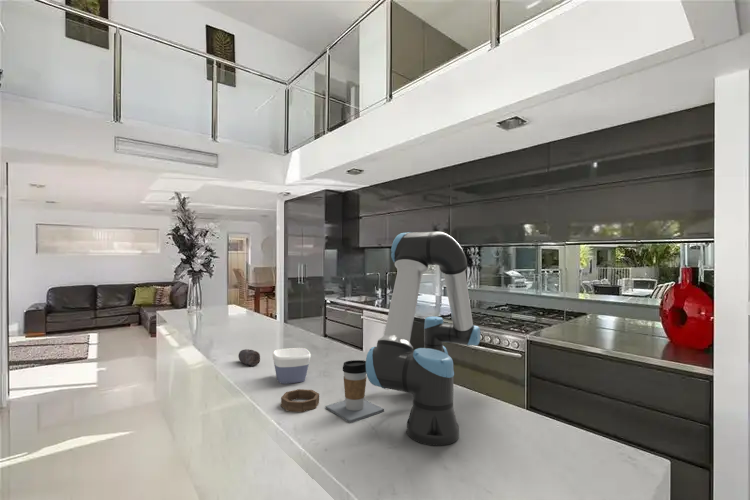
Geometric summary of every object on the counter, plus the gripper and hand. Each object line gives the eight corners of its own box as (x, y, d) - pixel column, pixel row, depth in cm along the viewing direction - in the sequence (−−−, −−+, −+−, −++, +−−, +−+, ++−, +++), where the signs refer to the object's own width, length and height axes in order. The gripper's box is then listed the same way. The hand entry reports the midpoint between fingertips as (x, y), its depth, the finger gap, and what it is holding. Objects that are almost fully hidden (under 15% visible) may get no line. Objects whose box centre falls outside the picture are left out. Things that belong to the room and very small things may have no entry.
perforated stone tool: (234, 362, 175) (235, 347, 175) (244, 359, 179) (245, 345, 179) (250, 368, 165) (251, 353, 165) (261, 366, 169) (261, 351, 169)
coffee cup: (363, 413, 116) (364, 366, 117) (338, 410, 118) (339, 364, 119) (369, 403, 124) (370, 359, 125) (346, 401, 126) (346, 357, 127)
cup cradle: (324, 405, 124) (324, 396, 124) (292, 414, 116) (293, 405, 116) (306, 395, 133) (307, 387, 133) (276, 403, 125) (276, 394, 126)
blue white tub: (313, 383, 147) (314, 355, 147) (274, 387, 141) (274, 358, 141) (306, 372, 161) (306, 346, 161) (270, 375, 155) (270, 349, 156)
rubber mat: (384, 411, 120) (384, 408, 120) (350, 422, 111) (350, 420, 111) (358, 398, 131) (358, 396, 131) (325, 408, 122) (325, 405, 122)
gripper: (442, 377, 132) (400, 390, 118) (394, 362, 151) (353, 371, 137) (442, 357, 132) (400, 367, 118) (394, 344, 151) (354, 351, 137)
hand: (375, 369), depth 127 cm, fingers open, 13 cm apart
